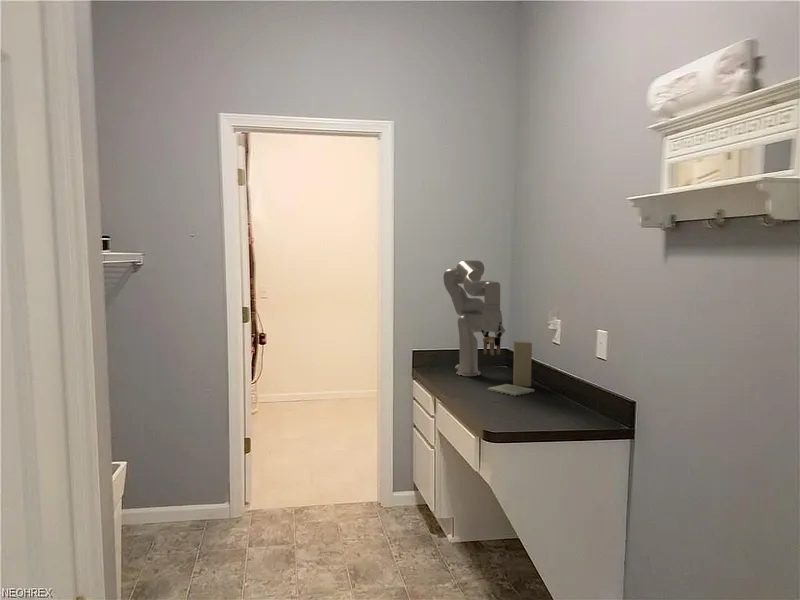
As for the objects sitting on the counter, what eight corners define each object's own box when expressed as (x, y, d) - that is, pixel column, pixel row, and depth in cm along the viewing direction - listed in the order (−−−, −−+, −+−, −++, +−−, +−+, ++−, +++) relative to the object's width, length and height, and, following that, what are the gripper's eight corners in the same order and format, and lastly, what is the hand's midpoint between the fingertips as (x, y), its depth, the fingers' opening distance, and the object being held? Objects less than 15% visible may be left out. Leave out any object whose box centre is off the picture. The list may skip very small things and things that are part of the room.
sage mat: (487, 390, 269) (487, 388, 269) (507, 385, 278) (507, 383, 278) (514, 396, 257) (514, 393, 257) (534, 391, 266) (534, 389, 266)
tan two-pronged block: (482, 353, 281) (483, 337, 280) (491, 352, 285) (491, 336, 284) (492, 355, 276) (492, 338, 276) (500, 354, 280) (500, 337, 280)
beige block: (529, 383, 283) (529, 340, 282) (531, 386, 276) (531, 342, 274) (512, 383, 284) (513, 340, 282) (514, 386, 277) (514, 342, 275)
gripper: (473, 306, 283) (473, 343, 284) (500, 309, 270) (500, 347, 271) (484, 306, 288) (483, 342, 289) (511, 308, 275) (511, 346, 276)
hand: (491, 344), depth 280 cm, fingers closed on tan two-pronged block, 6 cm apart
